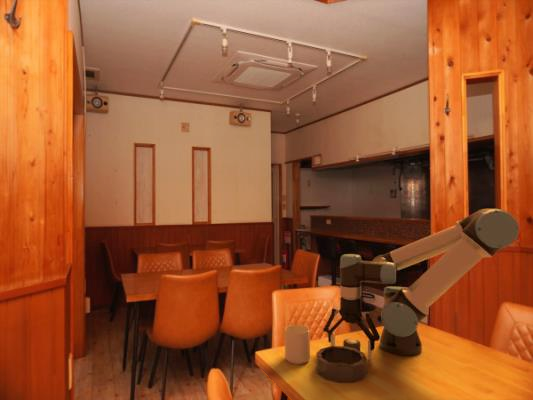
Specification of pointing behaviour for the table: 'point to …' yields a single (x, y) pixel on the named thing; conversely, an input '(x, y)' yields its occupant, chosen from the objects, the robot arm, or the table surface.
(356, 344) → the brown short cylinder
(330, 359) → the brown ring
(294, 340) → the mug
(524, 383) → the table surface
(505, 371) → the table surface
